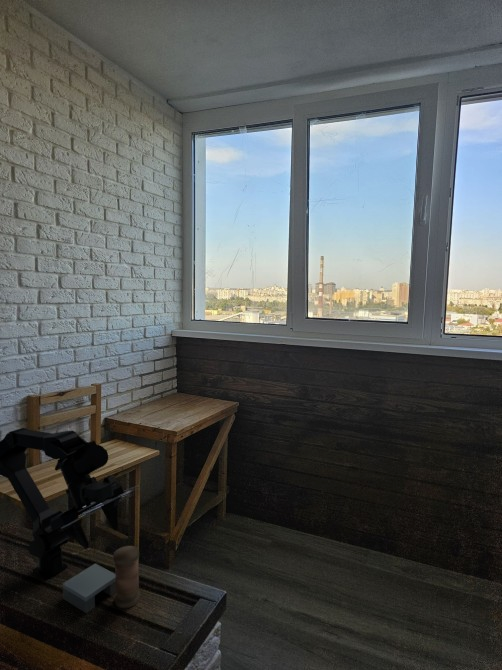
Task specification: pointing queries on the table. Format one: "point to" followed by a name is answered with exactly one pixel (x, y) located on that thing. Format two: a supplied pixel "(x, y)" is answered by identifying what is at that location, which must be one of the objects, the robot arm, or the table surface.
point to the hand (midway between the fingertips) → (102, 538)
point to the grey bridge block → (89, 587)
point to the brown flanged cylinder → (126, 576)
